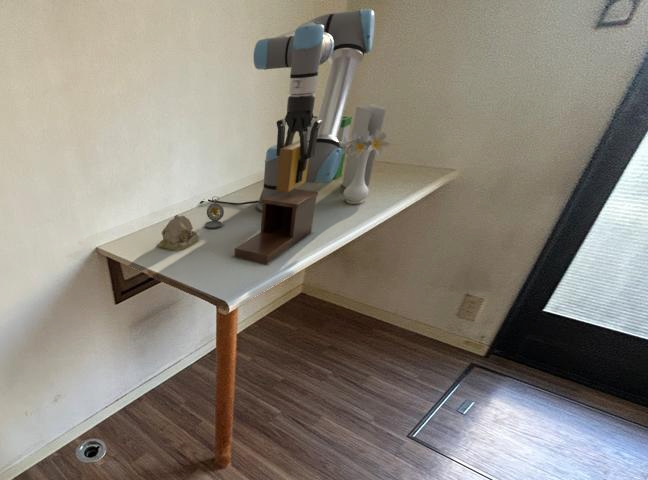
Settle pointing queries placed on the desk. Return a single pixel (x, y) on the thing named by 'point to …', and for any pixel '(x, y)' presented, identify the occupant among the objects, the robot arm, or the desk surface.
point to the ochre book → (289, 167)
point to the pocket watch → (214, 210)
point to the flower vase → (361, 162)
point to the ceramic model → (178, 234)
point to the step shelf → (280, 225)
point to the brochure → (363, 122)
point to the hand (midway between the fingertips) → (291, 180)
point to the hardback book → (338, 138)
